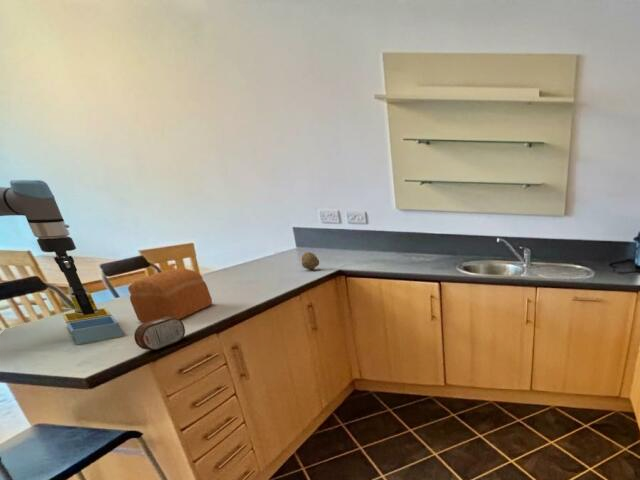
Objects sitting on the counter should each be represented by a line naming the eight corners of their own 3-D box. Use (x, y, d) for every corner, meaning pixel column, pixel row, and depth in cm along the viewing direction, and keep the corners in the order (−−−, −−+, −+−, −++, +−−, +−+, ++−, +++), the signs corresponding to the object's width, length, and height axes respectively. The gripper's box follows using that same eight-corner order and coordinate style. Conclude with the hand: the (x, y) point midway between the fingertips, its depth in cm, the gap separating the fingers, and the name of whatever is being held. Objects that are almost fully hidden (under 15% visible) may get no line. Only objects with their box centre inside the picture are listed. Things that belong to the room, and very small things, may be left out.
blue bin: (73, 336, 138) (66, 322, 136) (117, 328, 145) (112, 315, 143) (77, 344, 131) (70, 330, 129) (124, 335, 139) (118, 322, 137)
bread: (216, 303, 174) (205, 265, 167) (174, 323, 151) (158, 280, 144) (183, 303, 174) (169, 265, 166) (134, 323, 150) (117, 279, 143)
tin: (182, 337, 139) (173, 312, 135) (190, 337, 138) (182, 313, 134) (139, 354, 125) (128, 327, 122) (148, 354, 125) (137, 328, 121)
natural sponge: (323, 269, 242) (320, 251, 238) (315, 272, 234) (312, 253, 230) (308, 268, 243) (305, 250, 238) (300, 271, 235) (296, 253, 230)
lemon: (100, 326, 145) (89, 304, 141) (78, 328, 143) (68, 306, 139) (104, 321, 149) (94, 300, 146) (83, 324, 147) (73, 302, 143)
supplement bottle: (82, 315, 132) (70, 289, 128) (75, 313, 134) (63, 288, 130) (101, 312, 136) (90, 286, 132) (94, 310, 138) (82, 284, 134)
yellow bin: (68, 326, 146) (62, 314, 144) (110, 319, 153) (105, 307, 151) (72, 334, 139) (65, 321, 137) (116, 326, 147) (111, 314, 145)
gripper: (74, 238, 121) (108, 315, 132) (67, 233, 132) (99, 304, 142) (37, 241, 116) (75, 320, 127) (33, 235, 127) (69, 309, 137)
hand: (88, 312), depth 135 cm, fingers closed on supplement bottle, 5 cm apart
